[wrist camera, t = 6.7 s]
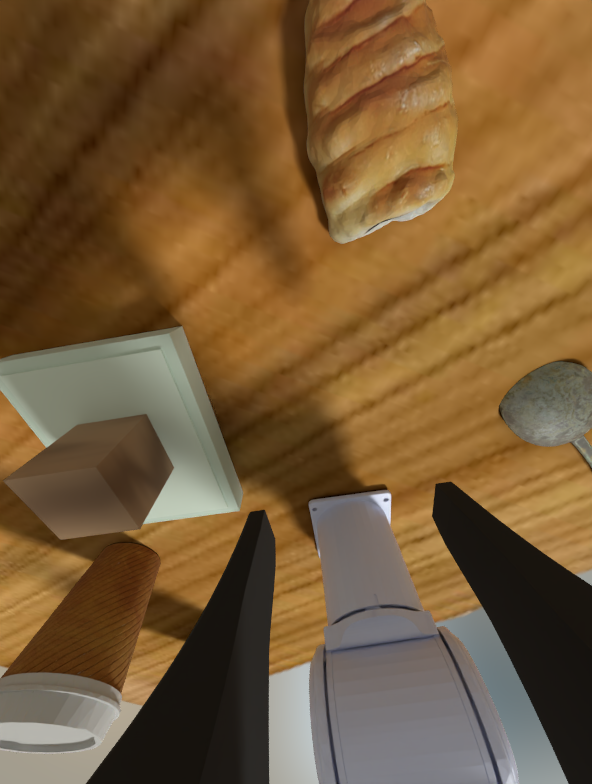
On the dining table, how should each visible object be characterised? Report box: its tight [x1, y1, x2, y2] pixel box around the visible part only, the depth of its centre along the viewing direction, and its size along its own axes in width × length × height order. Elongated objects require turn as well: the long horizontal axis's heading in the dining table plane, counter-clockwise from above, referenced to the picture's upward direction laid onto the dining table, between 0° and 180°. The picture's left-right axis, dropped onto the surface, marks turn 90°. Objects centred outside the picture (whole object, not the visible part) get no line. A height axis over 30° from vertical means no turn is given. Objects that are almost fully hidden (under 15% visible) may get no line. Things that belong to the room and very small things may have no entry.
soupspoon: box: [499, 361, 592, 468], centre depth 22 cm, size 22×3×7 cm
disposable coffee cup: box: [0, 543, 160, 754], centre depth 23 cm, size 10×10×12 cm
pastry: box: [304, 0, 458, 244], centre depth 11 cm, size 9×7×4 cm
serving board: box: [0, 326, 243, 524], centre depth 19 cm, size 16×12×2 cm
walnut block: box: [3, 414, 174, 540], centre depth 16 cm, size 5×5×5 cm
